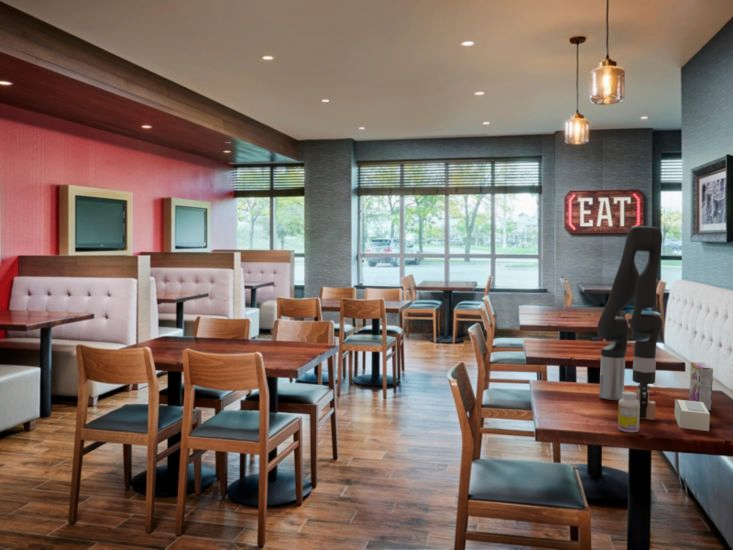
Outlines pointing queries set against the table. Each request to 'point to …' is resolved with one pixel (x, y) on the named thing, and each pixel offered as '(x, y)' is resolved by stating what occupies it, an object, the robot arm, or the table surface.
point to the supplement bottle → (628, 412)
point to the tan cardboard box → (649, 410)
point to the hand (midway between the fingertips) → (642, 415)
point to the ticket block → (692, 415)
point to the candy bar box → (701, 383)
